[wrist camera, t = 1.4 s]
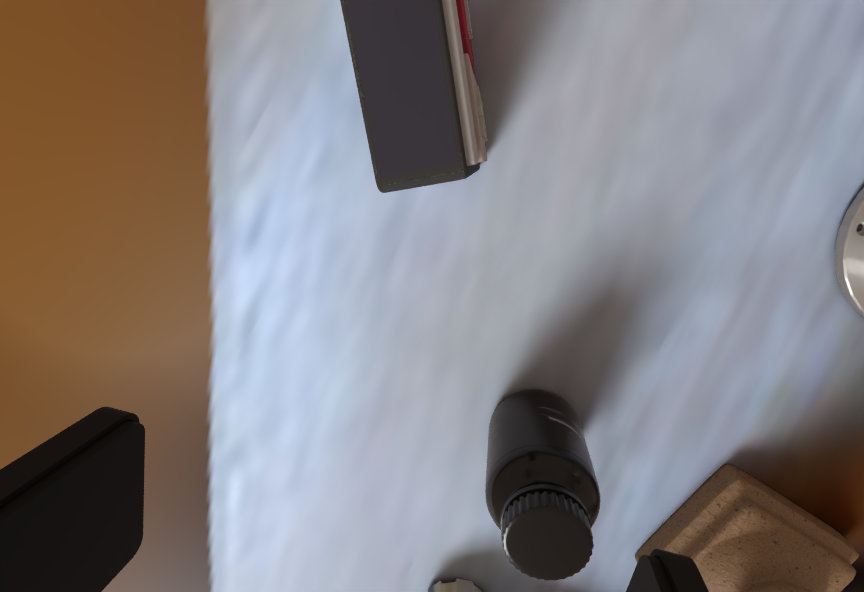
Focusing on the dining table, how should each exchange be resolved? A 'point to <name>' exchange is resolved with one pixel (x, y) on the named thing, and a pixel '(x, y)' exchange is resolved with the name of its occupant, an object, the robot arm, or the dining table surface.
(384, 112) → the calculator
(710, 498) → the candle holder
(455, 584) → the white elongated piece
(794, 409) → the dining table surface
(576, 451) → the supplement bottle
